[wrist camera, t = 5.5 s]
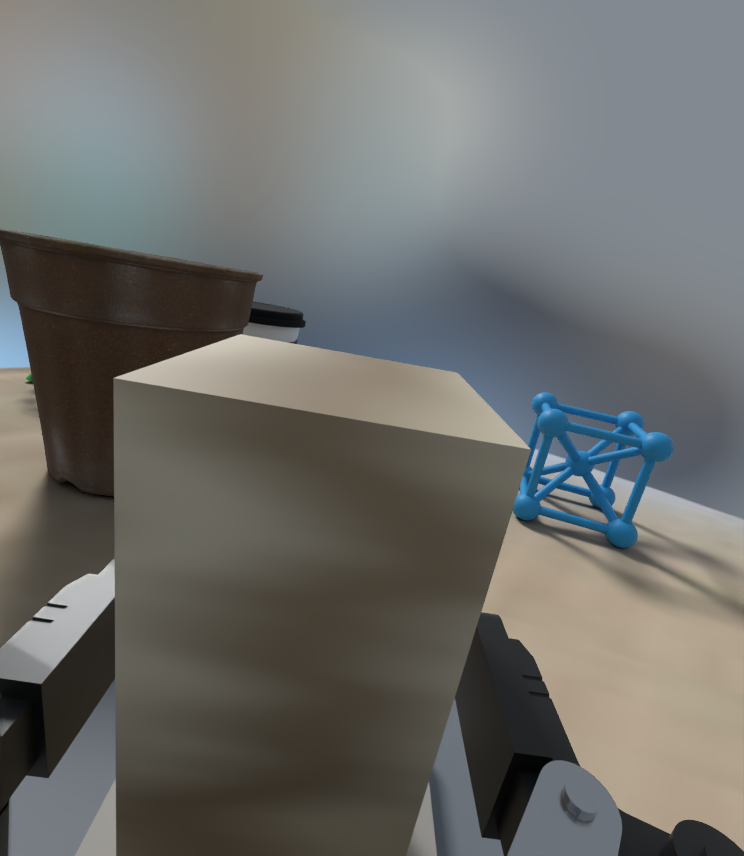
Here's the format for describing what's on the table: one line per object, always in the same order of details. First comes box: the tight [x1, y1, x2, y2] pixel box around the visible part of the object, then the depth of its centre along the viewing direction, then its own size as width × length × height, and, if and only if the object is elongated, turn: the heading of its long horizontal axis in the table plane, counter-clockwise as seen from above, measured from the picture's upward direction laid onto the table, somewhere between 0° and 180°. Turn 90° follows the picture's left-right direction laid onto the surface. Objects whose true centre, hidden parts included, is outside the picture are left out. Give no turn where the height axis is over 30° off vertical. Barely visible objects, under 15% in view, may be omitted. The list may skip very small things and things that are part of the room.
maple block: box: [113, 334, 531, 856], centre depth 10 cm, size 5×5×14 cm
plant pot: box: [0, 229, 263, 496], centre depth 33 cm, size 16×16×16 cm
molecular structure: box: [513, 392, 674, 548], centre depth 39 cm, size 10×10×10 cm
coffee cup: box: [243, 302, 306, 344], centre depth 55 cm, size 11×11×12 cm
